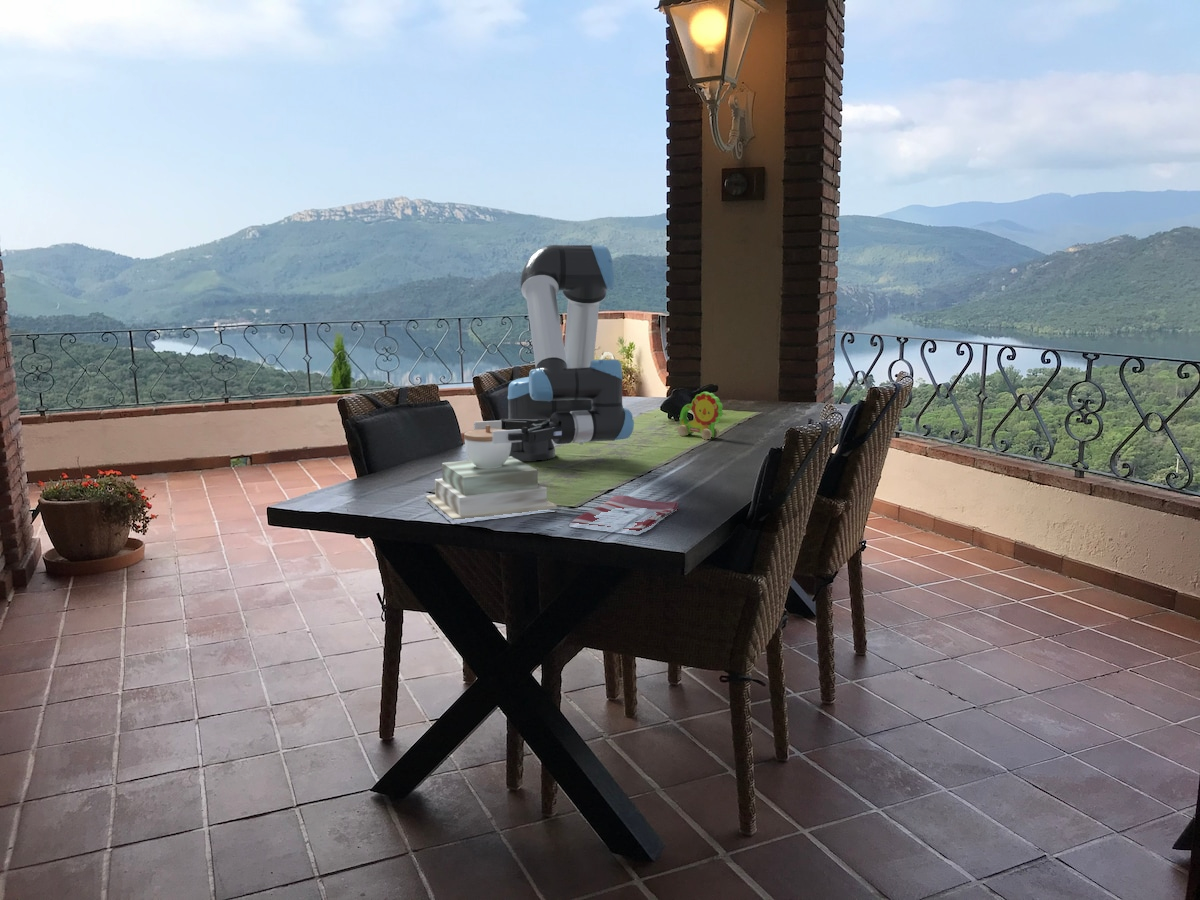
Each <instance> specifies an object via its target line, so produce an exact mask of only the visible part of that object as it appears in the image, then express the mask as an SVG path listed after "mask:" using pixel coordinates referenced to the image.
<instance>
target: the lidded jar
mask: <svg viewBox="0 0 1200 900" xmlns="http://www.w3.org/2000/svg"><path fill="white" fill-rule="evenodd" d="M501 430H504V429H490V425H486V429H478V430H474V429H472V430H468V431H465V432H464V434H463V439H464V448H465V452H466V456H467V458H468V459H469V460H470V461H471V462H472V463H473V464H474V465H475V467H476V468H480V469H494V468H500V467H502V465H503V464H504V463H505V462H506V460H507V459H508V457H509V455H510V451H511V443H497V444H493V442H492V431H501Z"/></svg>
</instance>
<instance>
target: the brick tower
mask: <svg viewBox="0 0 1200 900" xmlns="http://www.w3.org/2000/svg"><path fill="white" fill-rule="evenodd" d="M441 470H442V477H441V478H435V479H434V494H431V495H429V494H428V495H425V501H426V500H428V501H429V502H430V503H431V504H433V505H434V506H435V507H437V508H438V509H439V510H440V511H442V512H443V513H444V514H446V515H447V516H448V517H450V518H451V519H452V520H454V519H465V518H474V517H485V516H494V515H503V514H512V513H522V512H529V511H538V510H547V509H557V510H558V505H557V504H556V503H553V502H552V501H550V500H548V499H547V498H548V497H547V496H548V495H547V493H548V491H547V489H548V488H547V487H546V486H544V485H542V484H540V483H539V480H538V479H539V476H538V475H539V474H538V469H536V468H534V467H533V466H531V465H529V464H527V463H525V462H524V461H519V460H517V459H515V458H513V457H512V456H510V457H508V459H507V460H506V462H505V463H504V464H503V465H502V467H500V468H494V469H480V468H476V467H475V465H474V464H473V463H472V462H471V461H470V459H469V460H460V461H448V462H447V461H446V462H442V463H441Z"/></svg>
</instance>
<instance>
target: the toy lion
mask: <svg viewBox="0 0 1200 900" xmlns="http://www.w3.org/2000/svg"><path fill="white" fill-rule="evenodd" d="M689 411H692V413H693V415H694V417H693V418H694V419H692V420H690V421H688V412H689ZM723 413H724V412H723V403H722V402H721V400H720V398H719V396H716V395H715V393H712V392H711V393H710V392H709V391H703V392H700V393H699V394H698V393H697V394H696V395H695V396H694V398H693V399H692V401H691V403H687V404H685V405H684V406H683V407H682V409H681V411H680V416H679V425H678V427H677V428H676V429H677V433H678V435H679V436H681V437H685V436H688V434H690V435H693V434H694V433H698V434H700V437H701V438H702V439H703V440H704V439H709V440H711V439H716V438H718V436H719V433H720V431H719V429H718V428H717V426H715V424H718V423H719V422H720V419H721V418H722V417H723ZM711 437H712V438H711Z"/></svg>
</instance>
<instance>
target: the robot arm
mask: <svg viewBox="0 0 1200 900" xmlns="http://www.w3.org/2000/svg"><path fill="white" fill-rule="evenodd" d="M614 272H615V271H614V264H613V259H612V255H611V252H610V250H609V248H608V247H607V246H605V245H594V244H593V243H592V244H589V245H588V244H585V245H584V244H580V245H579V244H573V245H572V244H561V245H559V244H549V245H546V246H543V247H541V248H540V249H538V250H536V252H534V253H533V254H532V255H531V256H530V257H529V258H528V260H527V261H526V262H525V264H524V267H523V269H522V273H521V276H520V290H521V294H522V297H523V298H524V299H525V300H526V304H527V305H526V306H527V315H528V321H529V327H530V328H529V329H530V335H531V342H532V351H533V357H534V366H535V367H534V368H533V369H530V371H529V372H528V373H529V374H528V376H527V377H521V378H520V377H519V378H517V379H514V380H512V381H511V382H509V384H508V387H507V388H508V389H507V400H508V418H500V419H499V420H486V421H485V420H484V421H483V420H482V421H473V430H478V429H486V425H490V429H504V430H501V431H492V442H493V444H497V443H511V451H510V455H509V457H510V456H512V457H513V458H515V459H517V460H519V461H521V462H536V461H535V460H542V461H547V459H548V460H550V459H554V458H556V447H555V444H556V445H564V444H571V443H574V444H575V443H579V445H581V446H582V445H584V442H585V443H593V442H608V441H609V442H611V441H612V442H613V441H617V440H625V439H628V438H630V437H631V435H632V434H633V432H634V429H635V428H634V426H635V422H634V419H633V418H634V417H633V413H632V412H631V410H630V409H628V408H624V405H623V380H624V379H623V378H624V377H623V369H622V363H621V361H620V360H619V359H612V358H611V359H609V358H608V359H607V358H606V359H595V351H596V350H595V349H596V340H597V332H598V324H599V323H598V321H599V310H600V303H601V302H603V301H604V300H605V299H606V297H607V291H609V292H610V291H612V290H613V289H614V286H615V273H614ZM559 291H562V294H563V296H564V298H565V299H566V300H567V311H566V322H565V337H564V338H563V332H562V324H561V319H560V313H559V306H558V300H557V295H558V293H559Z"/></svg>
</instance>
